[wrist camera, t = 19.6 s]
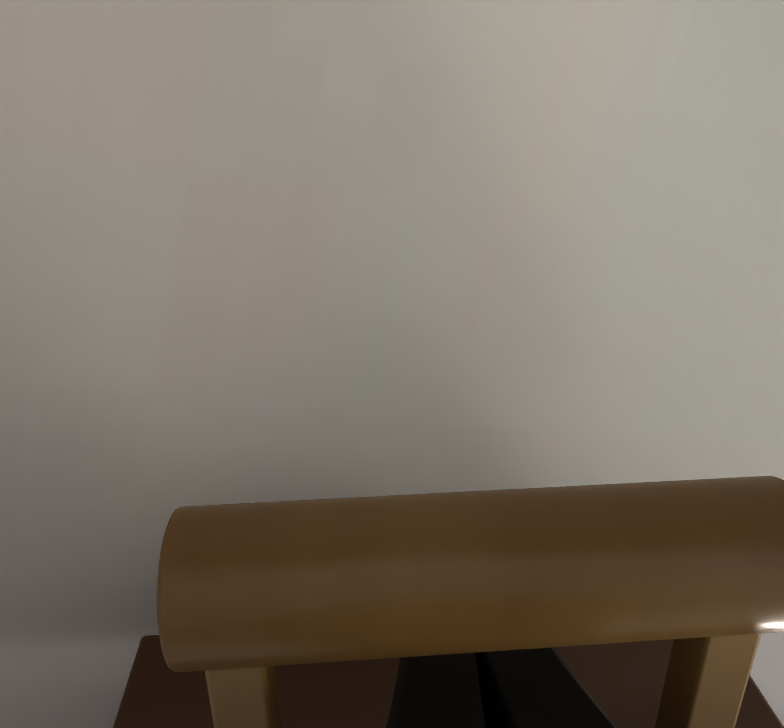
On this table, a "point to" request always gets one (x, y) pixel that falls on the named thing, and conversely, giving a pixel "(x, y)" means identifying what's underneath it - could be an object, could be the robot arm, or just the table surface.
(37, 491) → the table surface
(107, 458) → the table surface
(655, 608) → the drawer
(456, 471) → the table surface
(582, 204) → the table surface
